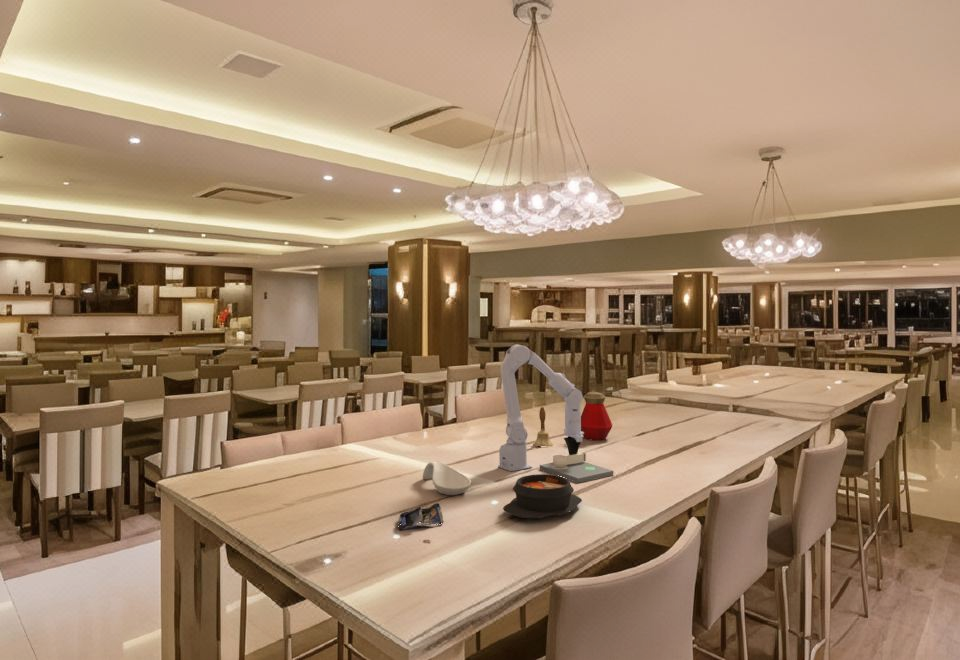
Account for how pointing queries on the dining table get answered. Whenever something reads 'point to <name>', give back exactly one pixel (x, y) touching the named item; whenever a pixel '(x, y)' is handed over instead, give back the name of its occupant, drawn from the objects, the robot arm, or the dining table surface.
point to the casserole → (542, 497)
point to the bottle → (595, 417)
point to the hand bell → (542, 432)
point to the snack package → (420, 517)
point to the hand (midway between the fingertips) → (573, 457)
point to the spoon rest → (446, 478)
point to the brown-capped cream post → (568, 459)
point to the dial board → (578, 471)
